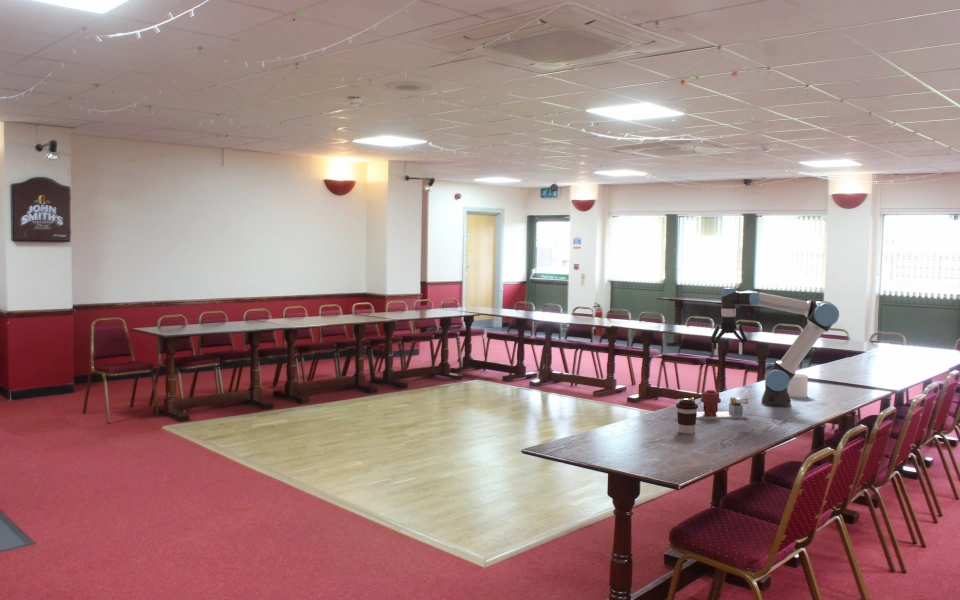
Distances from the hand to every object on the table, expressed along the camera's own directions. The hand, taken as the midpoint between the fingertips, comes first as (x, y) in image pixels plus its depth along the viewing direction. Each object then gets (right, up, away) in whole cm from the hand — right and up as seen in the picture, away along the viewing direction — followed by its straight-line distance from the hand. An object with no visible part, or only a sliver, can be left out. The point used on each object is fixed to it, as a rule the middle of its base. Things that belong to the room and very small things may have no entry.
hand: (728, 354), depth 412 cm
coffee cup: (-38, -33, -56) cm, 75 cm away
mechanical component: (-17, -29, -23) cm, 41 cm away
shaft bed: (-16, -30, -23) cm, 41 cm away
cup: (+49, -26, +29) cm, 63 cm away
